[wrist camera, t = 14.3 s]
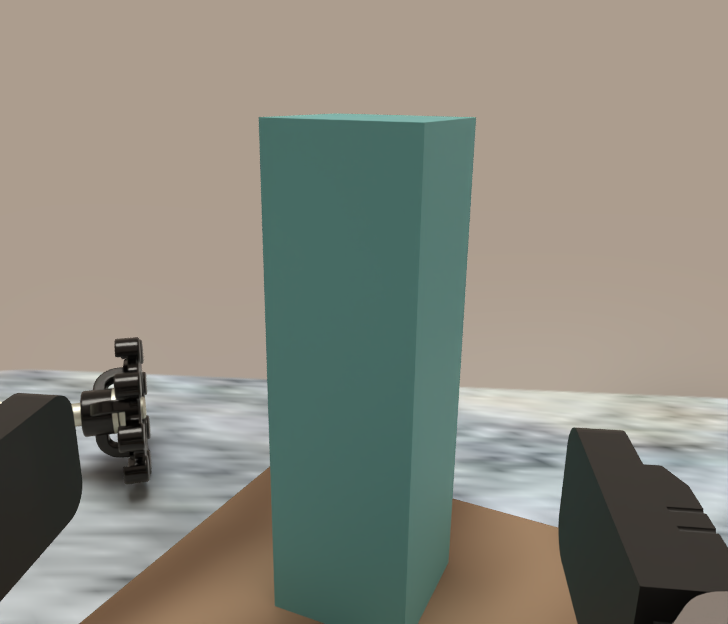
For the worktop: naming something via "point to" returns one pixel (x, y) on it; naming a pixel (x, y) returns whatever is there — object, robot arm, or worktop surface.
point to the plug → (363, 355)
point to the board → (264, 620)
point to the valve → (120, 412)
